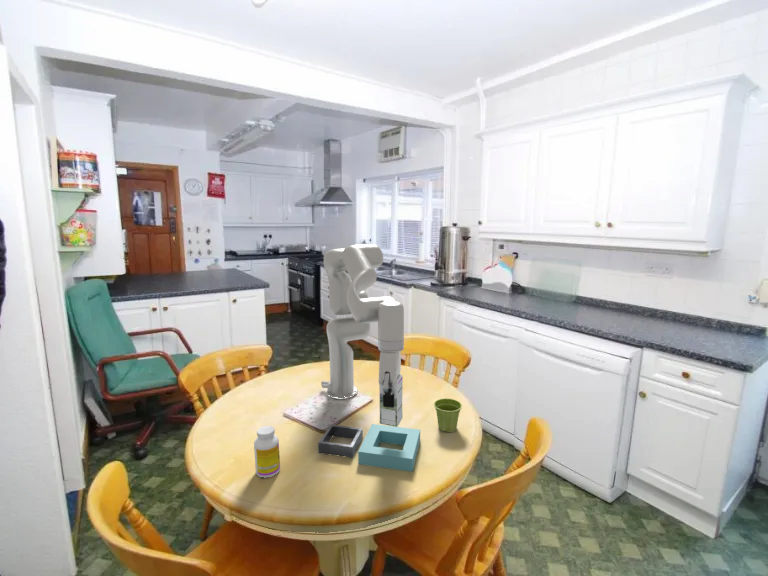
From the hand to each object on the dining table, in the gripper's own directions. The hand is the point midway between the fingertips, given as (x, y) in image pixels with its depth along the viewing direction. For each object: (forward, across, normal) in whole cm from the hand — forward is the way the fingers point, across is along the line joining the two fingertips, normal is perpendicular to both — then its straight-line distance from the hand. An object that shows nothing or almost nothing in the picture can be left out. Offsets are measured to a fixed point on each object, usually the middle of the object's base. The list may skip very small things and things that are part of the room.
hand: (391, 401), depth 118 cm
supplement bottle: (+17, +17, -32) cm, 40 cm away
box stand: (+17, 0, -16) cm, 23 cm away
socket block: (+17, 0, 0) cm, 17 cm away
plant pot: (+17, -18, +16) cm, 30 cm away
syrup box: (+7, 0, 0) cm, 7 cm away
